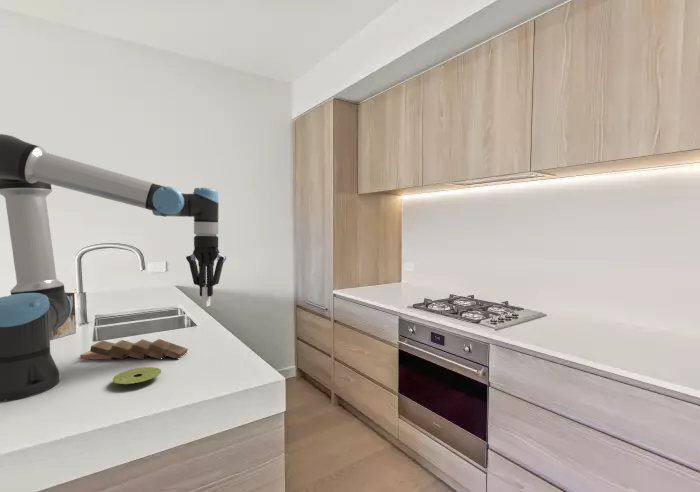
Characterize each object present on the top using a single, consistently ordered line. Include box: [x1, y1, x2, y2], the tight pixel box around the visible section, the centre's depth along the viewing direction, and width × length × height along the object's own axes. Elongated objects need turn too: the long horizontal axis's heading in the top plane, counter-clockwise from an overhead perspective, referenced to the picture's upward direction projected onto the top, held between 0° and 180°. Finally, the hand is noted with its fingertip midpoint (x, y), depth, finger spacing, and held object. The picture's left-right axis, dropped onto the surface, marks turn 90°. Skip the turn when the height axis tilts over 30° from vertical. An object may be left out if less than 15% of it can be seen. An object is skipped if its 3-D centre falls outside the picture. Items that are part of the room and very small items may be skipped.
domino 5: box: [148, 338, 189, 359], centre depth 115 cm, size 2×5×10 cm
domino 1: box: [79, 350, 114, 360], centre depth 116 cm, size 2×5×10 cm
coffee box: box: [50, 292, 77, 340], centre depth 137 cm, size 9×6×16 cm
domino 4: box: [131, 338, 167, 360], centre depth 115 cm, size 2×5×10 cm
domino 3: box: [111, 339, 149, 360], centre depth 114 cm, size 2×5×10 cm
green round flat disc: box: [112, 366, 162, 385], centre depth 96 cm, size 11×11×2 cm
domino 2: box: [89, 340, 128, 360], centre depth 114 cm, size 2×5×10 cm
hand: (206, 305), depth 120 cm, fingers closed
